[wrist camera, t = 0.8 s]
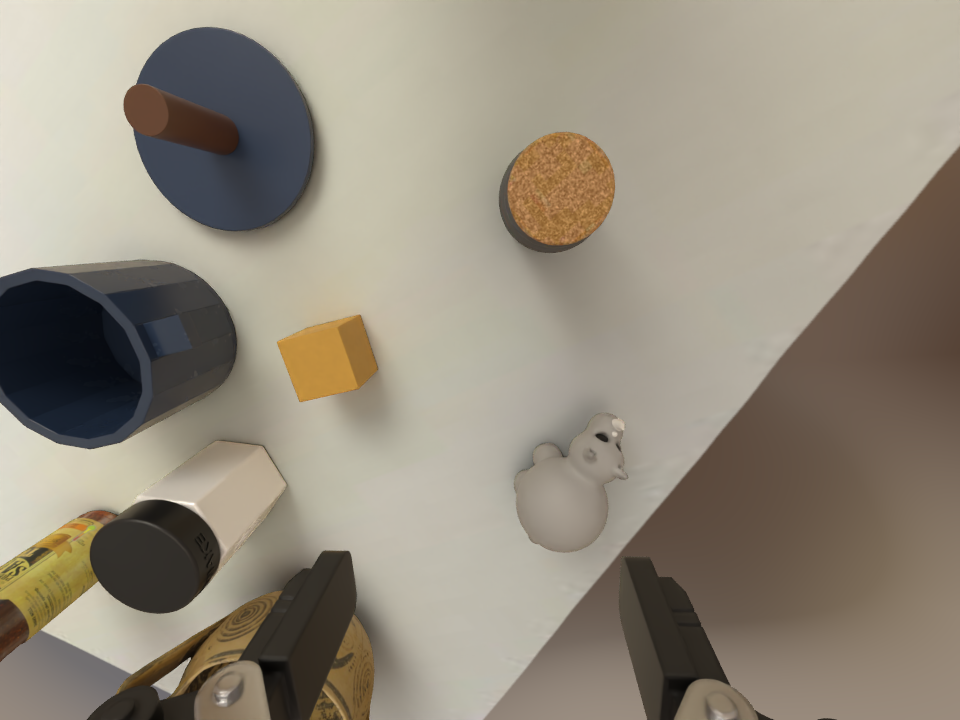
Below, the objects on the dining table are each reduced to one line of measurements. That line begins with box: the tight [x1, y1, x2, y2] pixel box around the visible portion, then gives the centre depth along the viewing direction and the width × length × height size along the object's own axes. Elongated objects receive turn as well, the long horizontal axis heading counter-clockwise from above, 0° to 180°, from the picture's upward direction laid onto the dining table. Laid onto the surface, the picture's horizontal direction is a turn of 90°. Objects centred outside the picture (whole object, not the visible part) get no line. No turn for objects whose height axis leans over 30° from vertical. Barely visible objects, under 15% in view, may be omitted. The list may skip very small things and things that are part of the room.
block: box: [277, 315, 378, 402], centre depth 36 cm, size 5×5×5 cm
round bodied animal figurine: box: [514, 413, 628, 553], centre depth 35 cm, size 7×12×8 cm, turn 148°
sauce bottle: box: [0, 510, 117, 662], centre depth 36 cm, size 6×6×20 cm
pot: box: [0, 260, 237, 449], centre depth 35 cm, size 13×18×10 cm
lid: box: [124, 27, 314, 231], centre depth 30 cm, size 14×14×8 cm
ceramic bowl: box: [116, 590, 374, 720], centre depth 40 cm, size 22×17×15 cm
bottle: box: [499, 132, 615, 253], centre depth 27 cm, size 6×6×15 cm
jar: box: [90, 440, 287, 614], centre depth 37 cm, size 9×8×12 cm
